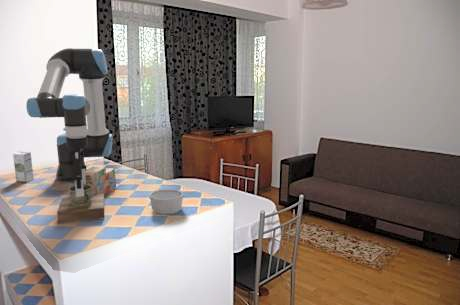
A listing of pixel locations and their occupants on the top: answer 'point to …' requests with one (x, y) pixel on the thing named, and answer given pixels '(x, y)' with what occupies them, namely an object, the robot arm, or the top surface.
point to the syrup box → (23, 166)
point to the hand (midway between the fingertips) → (81, 190)
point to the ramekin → (166, 201)
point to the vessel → (82, 199)
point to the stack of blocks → (100, 179)
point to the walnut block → (81, 210)
